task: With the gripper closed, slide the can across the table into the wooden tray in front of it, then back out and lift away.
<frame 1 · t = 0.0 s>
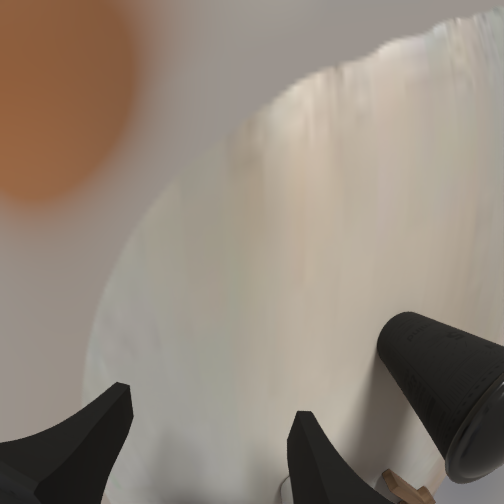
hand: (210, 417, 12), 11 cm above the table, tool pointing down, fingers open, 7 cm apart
can: (316, 479, 24), on the table
drinking cup: (402, 338, 22), on the table
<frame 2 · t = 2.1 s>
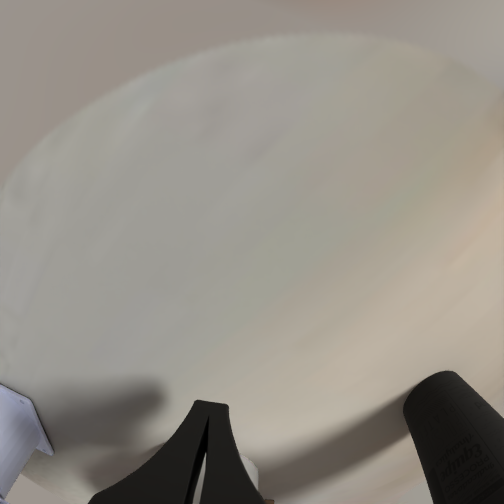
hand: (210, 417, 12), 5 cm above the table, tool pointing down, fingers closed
can: (208, 462, 19), on the table
drinking cup: (431, 395, 17), on the table
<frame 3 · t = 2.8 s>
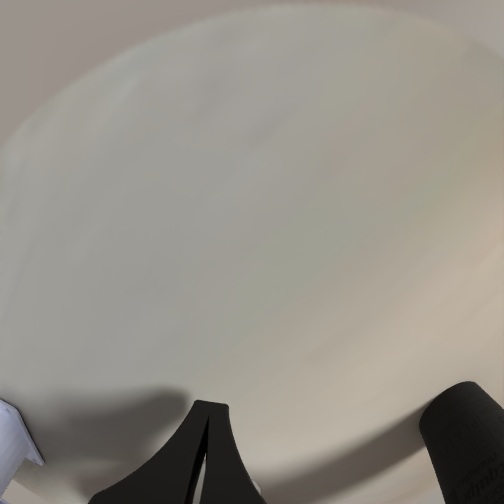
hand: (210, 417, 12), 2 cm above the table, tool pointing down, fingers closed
drinking cup: (449, 408, 15), on the table
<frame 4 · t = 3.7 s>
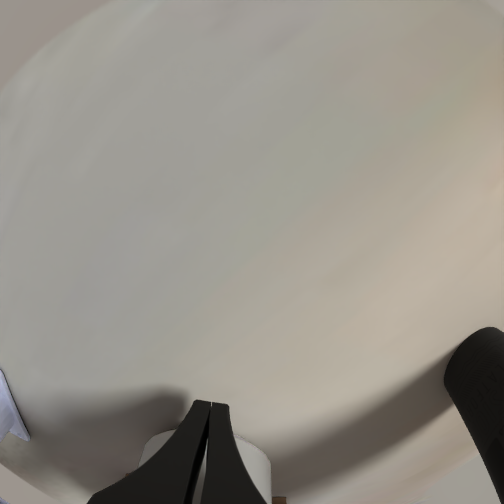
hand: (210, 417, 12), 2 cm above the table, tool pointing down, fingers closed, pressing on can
can: (208, 452, 15), on the table, touching gripper
drinking cup: (473, 360, 14), on the table
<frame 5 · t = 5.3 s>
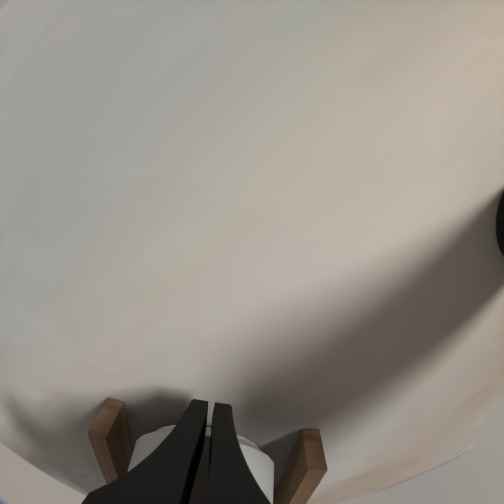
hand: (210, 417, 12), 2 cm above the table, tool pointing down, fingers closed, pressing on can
can: (206, 445, 14), point 1 cm above the table, touching gripper
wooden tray: (207, 463, 16), on the table
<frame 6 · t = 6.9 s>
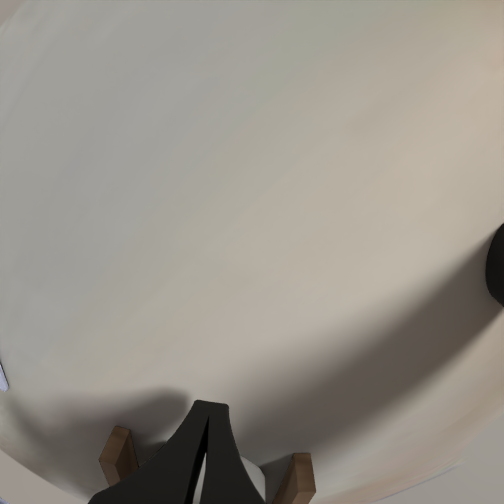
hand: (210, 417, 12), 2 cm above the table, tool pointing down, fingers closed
can: (207, 466, 16), on the table
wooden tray: (208, 481, 16), on the table
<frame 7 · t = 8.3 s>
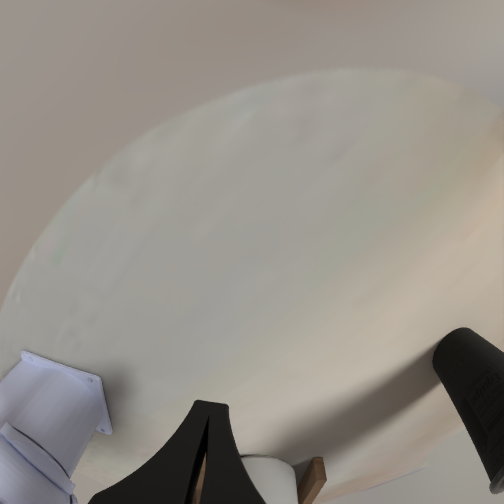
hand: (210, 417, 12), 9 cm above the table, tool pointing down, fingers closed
can: (257, 468, 26), on the table
drinking cup: (453, 350, 22), on the table
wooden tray: (256, 477, 26), on the table
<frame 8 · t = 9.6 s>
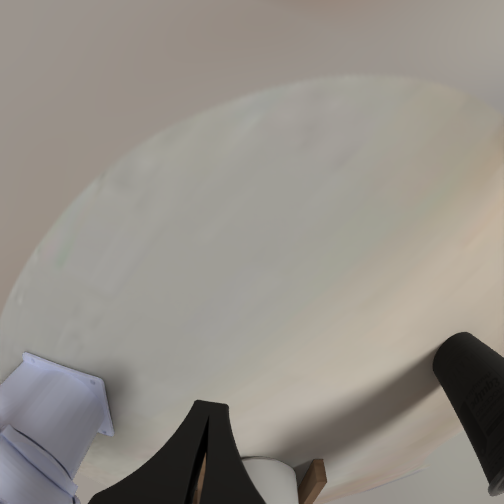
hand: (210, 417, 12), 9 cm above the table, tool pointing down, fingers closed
can: (258, 470, 26), on the table
drinking cup: (453, 354, 22), on the table
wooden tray: (257, 479, 26), on the table
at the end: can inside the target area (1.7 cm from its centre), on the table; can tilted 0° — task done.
